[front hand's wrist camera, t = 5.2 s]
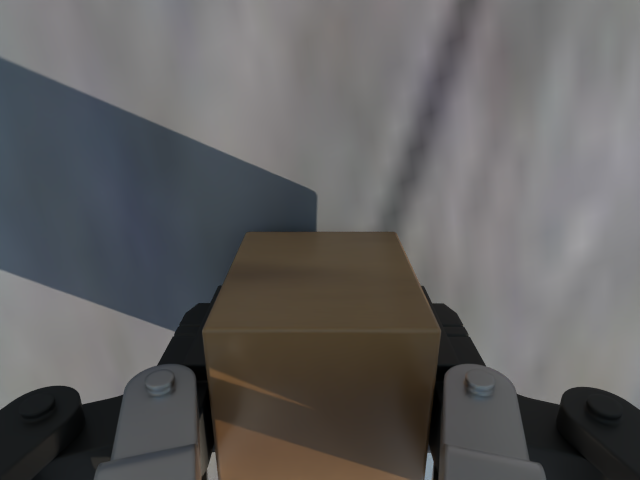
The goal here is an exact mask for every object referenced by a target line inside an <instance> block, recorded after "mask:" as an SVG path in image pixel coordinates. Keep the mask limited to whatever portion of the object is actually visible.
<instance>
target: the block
mask: <svg viewBox="0 0 640 480" xmlns="http://www.w3.org/2000/svg"><path fill="white" fill-rule="evenodd" d="M202 335H203V345H204V354H205V363H206V372H207V381H208V390H209V399H210V408H211V417H212V426H213V435H214V444H215V453H216V462H217V471H218V480H424V478H425V469H426V460H427V452H428V443H429V434H430V425H431V416H432V408H433V399H434V390H435V381H436V373H437V364H438V355H439V346H440V337H441V329H440V327H439V325H438V322H437V320H436V318H435V316H434V314H433V312H432V309H431V307H430V305H429V303H428V301H427V299H426V296H425V294H424V292H423V290H422V288H421V286H420V283H419V281H418V279H417V277H416V275H415V273H414V270H413V268H412V266H411V264H410V262H409V260H408V257H407V255H406V253H405V251H404V249H403V247H402V245H401V242H400V240H399V238H398V236H397V234H396V233H395V232H247V233H246V234H245V236H244V238H243V241H242V243H241V245H240V247H239V249H238V252H237V254H236V256H235V258H234V261H233V263H232V265H231V267H230V269H229V272H228V274H227V276H226V278H225V281H224V283H223V285H222V287H221V289H220V292H219V294H218V296H217V298H216V301H215V303H214V305H213V307H212V309H211V312H210V314H209V316H208V318H207V321H206V323H205V325H204V327H203V330H202Z"/></svg>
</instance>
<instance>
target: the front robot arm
mask: <svg viewBox="0 0 640 480" xmlns="http://www.w3.org/2000/svg"><path fill="white" fill-rule="evenodd" d="M221 287H222V286H218V288H217V290H216V292H215V295H214V297H213V299H212V301H211V303H198V304H197V305H196V306H195V307H193V308H192V309H191V310H189V311H188V312H187V313H186V314H185V315H184V317H183V319H182V321H181V323H180V326H179V327H178V328H177V330H176V332H175V334H174V337H172V339H171V341H170V343H169V345H168V347H167V348H166V350H165V352H164V354H163V356H162V358H161V359H160V361H159V363H158V365H157V366H154V367H151V368H148V369H146V370H144V371H142V372H140V373H139V374H137V375H136V376H134V377H133V378H132V379H131V380H130V381H129V382H128V384H127V385H126V387H125V390H124V394H123V395H121V396H118V397H114V398H110V399H105V400H101V401H96V402H92V403H87V404H83V405H82V403H81V399H80V395H79V393H78V392H77V391H76V390H75V389H73V388H71V387H67V386H50V387H44V388H40V389H37V390H34V391H31V392H29V393H27V394H24V395H22V396H21V397H19V398H17V399H15V400H14V401H12V402H11V403H9V404H8V405H7V406H5V407H4V408H2V409H1V410H0V480H208V473H207V467H208V464H209V461H210V457H211V454H212V452H215V444H214V435H213V426H212V417H211V408H210V399H209V390H208V381H207V372H206V363H205V354H204V345H203V335H202V330H203V327H204V325H205V323H206V321H207V318H208V316H209V314H210V312H211V309H212V307H213V305H214V303H215V301H216V298H217V296H218V294H219V292H220V289H221ZM421 288H422V290H423V292H424V294H425V296H426V299H427V301H428V303H429V305H430V307H431V309H432V312H433V314H434V316H435V318H436V320H437V322H438V325H439V327H440V329H441V337H440V346H439V355H438V364H437V373H436V381H435V390H434V399H433V408H432V416H431V425H430V434H429V443H428V452H427V453H431V454H432V457H433V461H434V465H433V473H432V480H640V410H639V409H638V408H636V407H635V406H633V405H632V404H631V403H629V402H628V401H626V400H624V399H623V398H621V397H619V396H617V395H615V394H612V393H610V392H607V391H604V390H600V389H597V388H591V387H576V388H571V389H569V390H567V391H566V392H565V393H564V394H563V395H562V398H561V402H560V405H558V404H554V403H549V402H545V401H540V400H535V399H531V398H527V397H524V396H521V395H518V394H516V390H515V387H514V385H513V384H512V382H511V381H510V380H509V379H508V378H507V377H506V376H504V375H503V374H501V373H500V372H498V371H496V370H494V369H492V368H489V367H486V365H485V363H484V362H483V360H482V358H481V356H480V354H479V353H478V351H477V349H476V347H475V345H474V344H473V342H472V340H471V338H470V337H468V333H467V331H466V329H465V327H463V324H462V322H461V320H460V318H459V317H458V315H457V313H456V312H454V311H453V310H452V309H450V308H449V307H448V306H446V305H445V304H432V302H431V300H430V298H429V296H428V294H427V292H426V290H425V288H424V286H421Z"/></svg>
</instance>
